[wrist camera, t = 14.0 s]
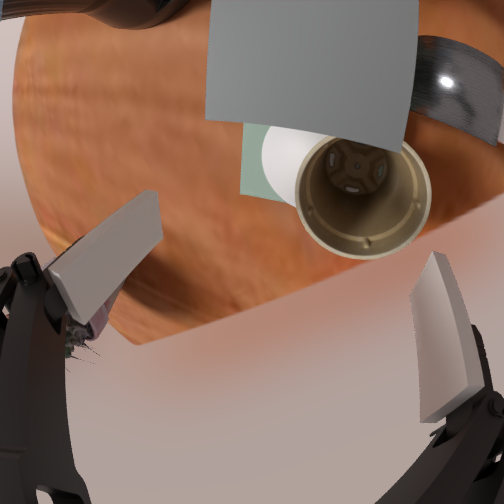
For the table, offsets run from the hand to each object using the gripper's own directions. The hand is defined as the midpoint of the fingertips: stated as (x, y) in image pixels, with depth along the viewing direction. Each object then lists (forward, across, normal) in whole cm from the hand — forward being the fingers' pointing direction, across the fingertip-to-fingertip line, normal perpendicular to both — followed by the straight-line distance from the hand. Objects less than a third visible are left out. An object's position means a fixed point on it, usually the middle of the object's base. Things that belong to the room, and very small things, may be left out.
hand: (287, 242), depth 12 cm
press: (+17, 0, +2) cm, 18 cm away
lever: (+2, +11, +8) cm, 14 cm away
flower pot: (+16, +4, 0) cm, 16 cm away
